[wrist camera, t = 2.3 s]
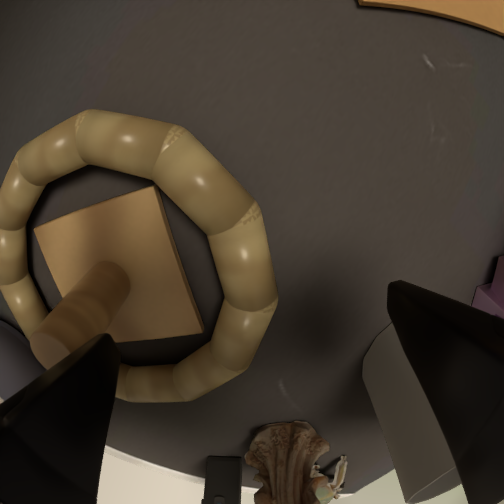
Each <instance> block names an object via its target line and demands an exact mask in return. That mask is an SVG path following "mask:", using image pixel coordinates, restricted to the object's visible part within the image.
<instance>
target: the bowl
mask: <svg viewBox="0 0 504 504" xmlns="http://www.w3.org/2000/svg"><path fill="white" fill-rule="evenodd" d="M46 371H47V369H46V368H45V367H44V366H43V365H42V364H41V363H40V362H39V361H38V360H37V358H36V357H35V355H34V353H33V351H32V349H31V346H30V341H29V340H27V339H26V338H25V337H24V336H23V335H22V334H21V333H20V332H18V331H17V330H16V329H15V328H13V327H12V326H10V325H9V324H7V323H5V322H3V321H1V320H0V404H1V403H2V402H4V401H5V400H7V399H8V398H10V397H11V396H12V395H14V394H15V393H17V392H18V391H19V390H21V389H22V388H24V387H25V386H26V385H27V386H28V384H29V383H30V382H32V381H33V380H35V379H36V378H37V377H39V376H40V375H41V374H43V373H44V372H46Z"/></svg>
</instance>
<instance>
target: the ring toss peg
mask: <svg viewBox="0 0 504 504" xmlns="http://www.w3.org/2000/svg"><path fill="white" fill-rule="evenodd" d="M34 232H35V235H36V237H37V240H38V243H39V245H40V248H41V250H42V253H43V255H44V258H45V260H46V263H47V265H48V267H49V269H50V272H51V274H52V276H53V278H54V281H55V283H56V285H57V287H58V289H59V291H60V293H61V295H62V297H63V299H62V300H61V301H60V302H59V303H58V304H57V305H56V306H55V308H54V309H53V310H52V311H51V312H50V313H49V314H48V316H47V317H46V318H45V319H44V320H43V321H42V323H41V324H40V325H39V326H38V327H37V328H36V330H35V331H34V332H33V333H32V335H31V337H30V346H31V349H32V351H33V353H34V355H35V357H36V358H37V360H38V361H39V362H40V363H41V364H42V365H43V366H44V367H45V368H46V369H47V370H48V369H50V368H51V367H52V366H54V365H55V364H57V363H58V362H59V361H61V360H62V359H64V358H65V357H66V356H68V355H69V354H71V353H72V352H73V351H75V350H76V349H78V348H79V347H80V346H82V345H83V344H85V343H86V342H87V341H89V340H90V339H92V338H93V337H95V336H96V335H97V334H101V333H109V334H110V335H111V336H112V338H113V340H114V341H115V343H118V342H130V341H140V340H150V339H160V338H168V337H177V336H185V335H192V334H200V333H203V331H204V324H203V322H202V319H201V316H200V314H199V311H198V308H197V306H196V303H195V300H194V298H193V295H192V292H191V289H190V286H189V284H188V281H187V278H186V275H185V272H184V269H183V266H182V263H181V260H180V257H179V254H178V251H177V248H176V245H175V242H174V239H173V236H172V233H171V229H170V226H169V223H168V220H167V216H166V213H165V210H164V206H163V203H162V200H161V196H160V193H159V189H158V186H157V185H156V184H155V185H152V186H148V187H145V188H142V189H139V190H135V191H132V192H129V193H126V194H123V195H120V196H117V197H114V198H111V199H108V200H105V201H102V202H99V203H96V204H93V205H91V206H88V207H85V208H82V209H79V210H77V211H74V212H71V213H69V214H66V215H64V216H61V217H59V218H56V219H53V220H51V221H49V222H46V223H44V224H41V225H39V226H37V227H35V228H34Z"/></svg>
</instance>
